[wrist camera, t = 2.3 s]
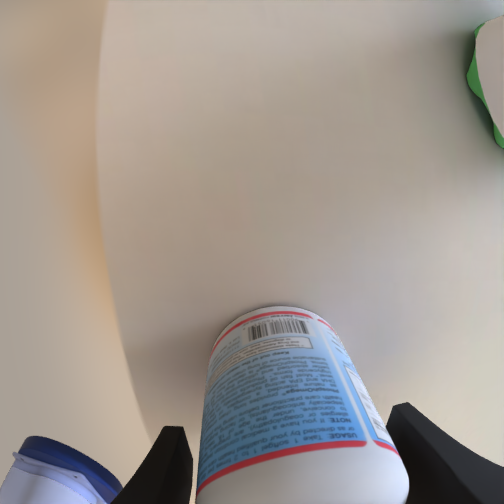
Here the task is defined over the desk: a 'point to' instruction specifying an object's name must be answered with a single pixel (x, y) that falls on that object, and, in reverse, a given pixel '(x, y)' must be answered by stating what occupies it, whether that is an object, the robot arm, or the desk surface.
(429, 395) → the desk surface
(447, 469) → the robot arm
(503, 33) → the cup
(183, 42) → the desk surface
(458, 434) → the desk surface
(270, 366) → the pill bottle
